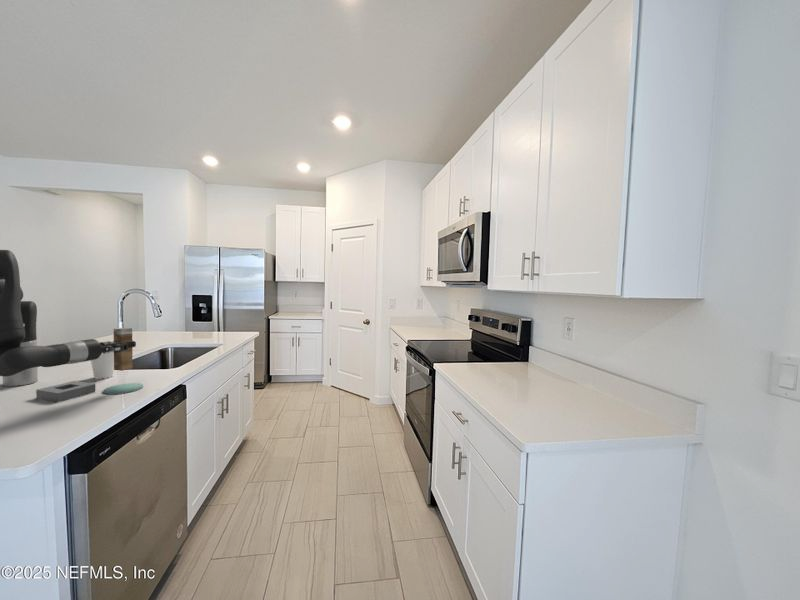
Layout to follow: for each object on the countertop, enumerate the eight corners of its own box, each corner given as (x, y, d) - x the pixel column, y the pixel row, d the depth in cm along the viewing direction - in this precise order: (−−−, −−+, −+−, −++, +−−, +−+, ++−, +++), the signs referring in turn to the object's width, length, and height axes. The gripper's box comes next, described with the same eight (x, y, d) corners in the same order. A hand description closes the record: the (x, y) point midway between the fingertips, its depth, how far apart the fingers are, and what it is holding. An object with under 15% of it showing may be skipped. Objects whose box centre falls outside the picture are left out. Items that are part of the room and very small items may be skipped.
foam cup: (106, 373, 148) (105, 345, 148) (123, 374, 147) (123, 346, 146) (83, 379, 139) (82, 349, 138) (101, 380, 138) (101, 350, 137)
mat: (103, 388, 129) (103, 386, 129) (142, 382, 137) (142, 381, 137) (103, 396, 120) (103, 395, 120) (144, 390, 128) (144, 388, 128)
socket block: (36, 398, 117) (36, 389, 117) (74, 388, 128) (74, 380, 127) (58, 401, 114) (58, 393, 114) (95, 391, 125) (95, 383, 125)
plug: (113, 369, 126) (113, 328, 126) (124, 367, 130) (124, 327, 130) (121, 370, 125) (121, 329, 125) (132, 368, 129) (132, 328, 129)
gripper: (94, 342, 112) (144, 335, 128) (64, 339, 115) (117, 333, 132) (94, 363, 112) (144, 354, 129) (64, 360, 115) (117, 351, 132)
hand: (130, 343), depth 130 cm, fingers closed on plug, 4 cm apart
